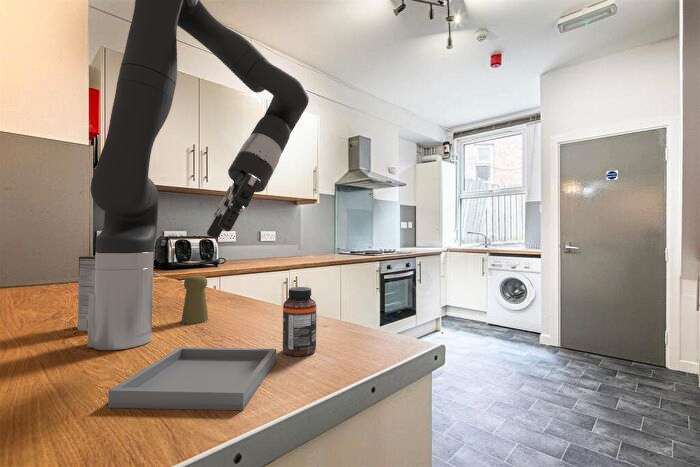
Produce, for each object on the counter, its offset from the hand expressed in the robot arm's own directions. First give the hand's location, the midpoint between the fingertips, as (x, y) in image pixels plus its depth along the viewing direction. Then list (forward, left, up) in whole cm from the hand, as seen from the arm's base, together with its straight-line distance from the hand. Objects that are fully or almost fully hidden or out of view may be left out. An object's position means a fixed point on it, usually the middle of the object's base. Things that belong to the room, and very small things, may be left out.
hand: (217, 233), depth 60 cm
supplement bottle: (+15, +1, -21) cm, 26 cm away
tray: (+4, -12, -21) cm, 25 cm away
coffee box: (-31, +16, -21) cm, 41 cm away
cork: (-14, +22, -21) cm, 33 cm away
